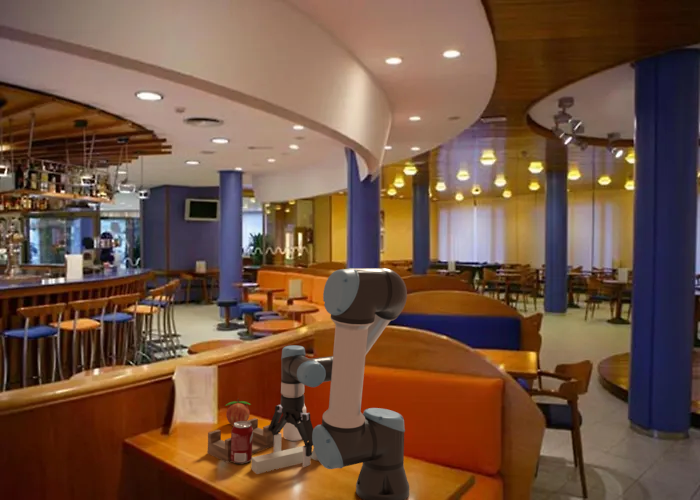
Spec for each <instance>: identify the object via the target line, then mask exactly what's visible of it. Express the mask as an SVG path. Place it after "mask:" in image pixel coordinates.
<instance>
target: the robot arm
mask: <svg viewBox="0 0 700 500" xmlns="http://www.w3.org/2000/svg"><path fill="white" fill-rule="evenodd" d="M322 297H323V299H322V301H323V302H324V305H323V306H324V308H325V310H326V312H327V313H328V314H329V315H330V319H331V321H332V322H333V323H334V324H335V327H334V328H335V330H334V341H333V342H334V343H333V350H332V351H333V352H332V353H333V354H332V355H331V356H322V357H321V356H320V357H313V358H308V357H306V355H307V354H306V349H305V347H304V346H302V345H287V346H284V347H283V348H282V350H281V358H280V360H281V367H280V369H281V370H280V371H281V374H280V375H281V378H280V379H281V381H280V382H281V383H280V394H281V395H280V404H278V405H275V408H274V414H273V415H272V418H271V420H270V424H268V425H269V428H268V430H269V431H271V432H272V434H273V443H274V446H273V453H274V452H278V451H282V431H283V427H284V426H285V424H286V423H291V424H293V425H294V426H295V427H296V428H297V429H298V431H299V434H300V436H301V438H302V439H301V440H302V442H303V444H304V445H302V446H303V463H302V467H303V468H306V467H308V466H310V465H311V459H312V458H311V455H312V451H313V449H314V450H315V453H316V456H317V458H318V460H319V461H318V462H319V463H320V464H321V465H322V466H323V467H324V468H325V469H327V470H334V469H343V468H344V467H349V466H353V465H357V464H361V463H362V465H361V468H360V471H359V474H358V477H357V480H356V484H355V492H356V495H357V496H358V497H359V498H360V499H361V500H406V499H408V498H409V495H410V484H409V481H408V477H407V473H406V469H405V465H404V462H405V461H404V457H405V455H404V454H405V432H406V429H405V420H404V416H403V415H402V414H401V413H399V412H396V411H394V410H390V409H387V408H382V407H381V408H380V407H379V408H378V407H370V408H366V409H364V410H363V413H362V412H361V411H362V410H361V408H362V399H363V387H364V377H365V375H364V374H365V365H366V355H368V353H369V351H370V350H371V349H372V348H373V345H374V344H376V342H377V340H378V339H379V337H380V336H381V335H382V334H383V331H384V330H385V329H386V328H387V326H388V325H389V324H390V322H391V321H394V320H396V319H398V317H399V316H400V314H401V313H402V312H403V310H404V309H405V305H406V303H407V299H408V290H407V286H406V283H405V281H404V279H403V278H402V277H401V276H400V275H399V274H398V273H397V272H396V271H394V270H392V269H389V268H387V267H386V268H385V267H377V268H373V267H372V268H371V267H370V268H366V267H365V268H363V267H362V268H360V267H359V268H358V267H357V268H355V267H354V268H352V267H349V268H345V269H344V268H342V269H337V270H335V271H332V273H331V274H330V275H329V276H328V278H327V279H326V282H325V285H324V289H323V294H322ZM327 382H330V389H329V399H328V400H329V402H328V409H326V411H324V412H323V414H322V417H321V418H322V419H321V424H317V425H316V426H314V427H313V424H312V418H311V413H310V412H306V413H303V411H302V408H303V406H304V404H305V394H304V393H305V386H306V387H310V388H316V387H319V386H320V385H321V384H323V383H327ZM299 421H300V423H299Z"/></svg>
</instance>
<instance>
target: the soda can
mask: <svg viewBox="0 0 700 500" xmlns="http://www.w3.org/2000/svg"><path fill="white" fill-rule="evenodd" d="M230 438H231V454H230V460H231V461H232V463H234V464H237V465H244V463H245V464H247V463H248V462H251V461H252V457H253V454H252V441H253V428H252V427H251V423H250V422H248V420H247V421H238V422H235V423H234V426H233V427H232V428H231V435H230Z"/></svg>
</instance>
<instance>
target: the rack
mask: <svg viewBox="0 0 700 500" xmlns="http://www.w3.org/2000/svg"><path fill="white" fill-rule="evenodd" d="M247 421H248V422H250V423H251V427H252V428H253V441H252V455H253V454H256V453H258V451H259V452H261V451H263V450H267V449H268V448H272V447H274V443H273V434H272V432H271V431H269V430H268V428H269V425H270V424H268V425H265V426H263V427H262V428H260V427H259V426H258V424H259V422H258V421H259V419H258V418H255V417H254V418H251V419H248V420H247ZM221 432H222V430H220V429H215V430H213V431H209V432H208V433H207V452H206V453H207V454H208V455H210V456H212V457H215V458H216V459H218V460H221V461H223V462H225V463H227V464H229V463H231V462H232V461H231V460H230V454H231V437H229V438H226V439H224V440H222V438H221V437H222V433H221ZM266 448H267V449H266ZM232 463H233V462H232Z"/></svg>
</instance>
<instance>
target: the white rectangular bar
mask: <svg viewBox="0 0 700 500" xmlns="http://www.w3.org/2000/svg"><path fill="white" fill-rule="evenodd" d="M303 446H304V445H301V446H300V445H299V446H297V447H296V446H295V447H292V448H287V449H282V450H281V451H278V452H274V451H273V452H270V453H265V454H261V455H257V456H252V459H251V460H250V462H251V463H250V464H251V465H250V466H251V467H250V468H251V470H252V472H253V473H255V474H256V475H259V474H263V473H267V472H271V470H272V471H275V470H274V469H276V470H278V469H279V468H280V469H283V468H287V467H291V466H295V465H299V464H303ZM280 469H279V470H280ZM266 471H267V472H266Z"/></svg>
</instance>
